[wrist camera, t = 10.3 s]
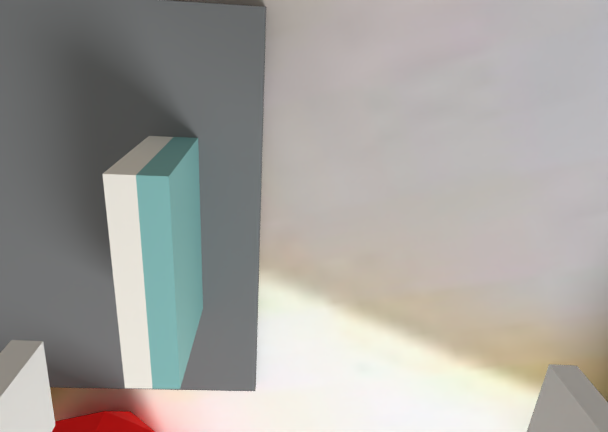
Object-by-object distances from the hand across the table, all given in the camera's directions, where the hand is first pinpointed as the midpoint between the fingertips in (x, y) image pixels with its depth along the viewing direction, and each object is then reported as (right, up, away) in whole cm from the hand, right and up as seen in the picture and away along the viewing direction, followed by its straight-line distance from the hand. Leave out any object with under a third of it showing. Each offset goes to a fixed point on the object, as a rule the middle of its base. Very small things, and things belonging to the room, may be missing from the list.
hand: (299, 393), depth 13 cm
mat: (-9, +5, +11) cm, 15 cm away
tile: (-6, +4, +11) cm, 13 cm away
